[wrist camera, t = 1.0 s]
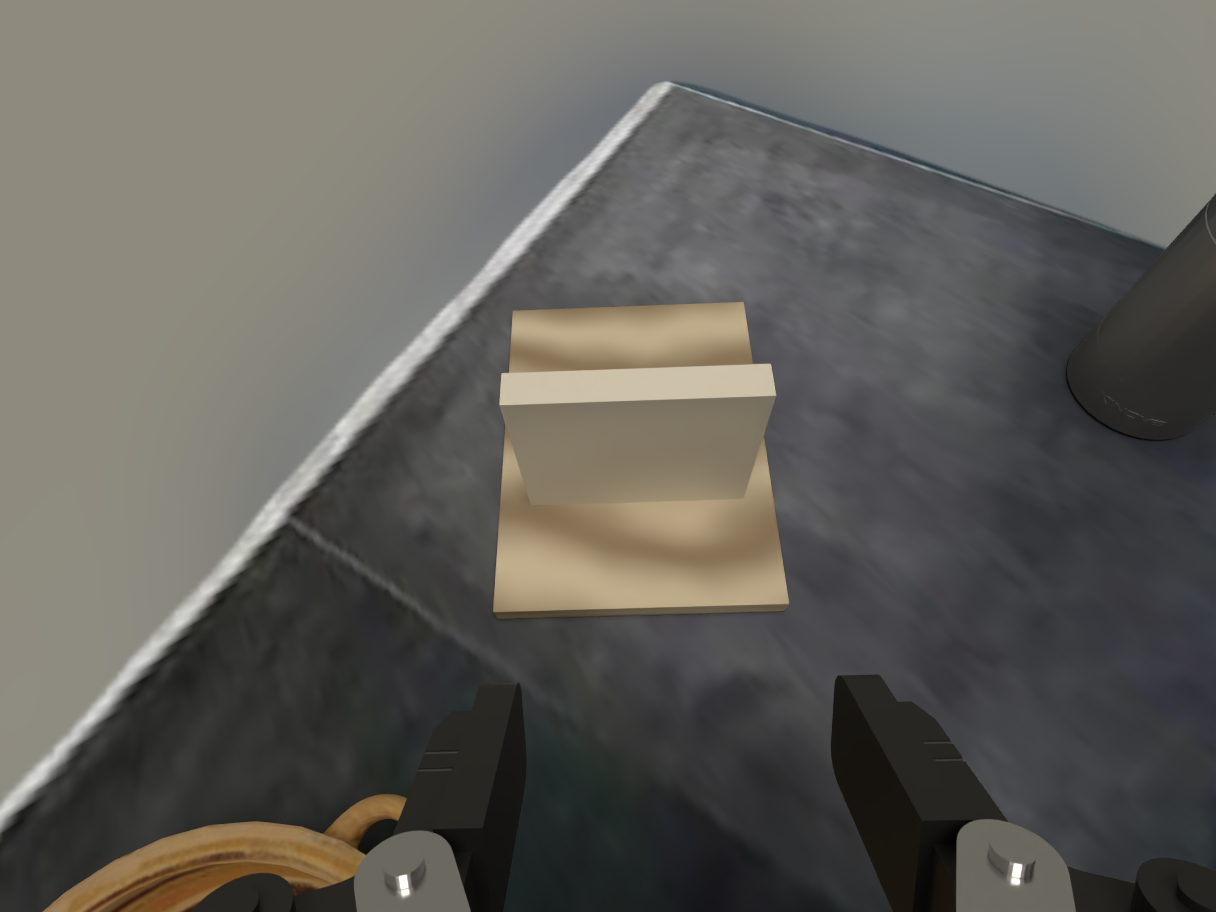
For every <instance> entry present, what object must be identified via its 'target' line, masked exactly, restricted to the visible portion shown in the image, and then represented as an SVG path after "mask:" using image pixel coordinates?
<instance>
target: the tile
mask: <svg viewBox="0 0 1216 912" xmlns="http://www.w3.org/2000/svg"><path fill="white" fill-rule="evenodd" d="M775 398H776V392H775V386H774V380H773V374H772V368H771V364H750V365H721V366H693V367H665V368H637V369H609V370H581V371H553V372H525V373H502V377H501V391H500V404H499V405H500V409H501V412H502V415H503V418H504V421H505V425H506V428H507V431H508V434H509V437H510V440H511V444H512V447H513V450H514V453H515V456H516V459H517V463H518V466H519V469H520V472H521V475H522V479H523V482H524V485H525V488H526V491H527V494H528V498H529V501H530V504H531V506H537V505H569V504H601V503H633V502H665V501H697V500H729V499H744V495H745V492H746V489H747V486H748V483H749V480H750V477H751V473H752V470H753V467H754V464H755V461H756V458H757V455H758V451H759V448H760V445H761V442H762V439H763V436H764V432H765V429H766V426H767V423H768V420H769V417H770V414H771V410H772V407H773V404H774V401H775Z"/></svg>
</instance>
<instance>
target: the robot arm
mask: <svg viewBox="0 0 1216 912" xmlns="http://www.w3.org/2000/svg"><path fill="white" fill-rule="evenodd" d="M1067 378H1068V382H1069V385H1070V387H1071V390H1072V392H1073V393H1074V395H1075V397H1076V398H1077V400H1078V401H1079V402H1080V404H1081V405H1082V406H1083V407H1084V408H1085V409H1086V410H1087V411H1088V412H1089V413H1090V414H1091V415H1093V416H1094V417H1095V418H1096V419H1098V420H1099V421H1100V422H1102V423H1104V424H1106V425H1107V426H1109V427H1111V428H1112V429H1115V430H1117V431H1120V432H1122V433H1124V434H1127V435H1130V436H1134V437H1138V438H1142V439H1153V440H1163V439H1172V438H1176V437H1179V436H1182V435H1185V434H1186V433H1188V432H1189V431H1191V430H1193V429H1194V428H1196V427H1197V426H1198V425H1200V424H1201V423H1202V422H1204V421H1205V420H1207V419H1208V418H1209V417H1211V416H1212V415H1213V414H1215V413H1216V194H1215V195H1214V196H1213V197H1212V198H1211V200H1210V201H1209V202H1208V203H1207V204H1206V205H1205V206H1204V207H1203V208H1202V210H1201V211H1200V212H1199V213H1198V214H1197V215H1196V216H1195V217H1194V218H1193V219H1192V221H1191V222H1190V223H1189V224H1188V225H1187V226H1186V228H1185V229H1183V231H1182V232H1181V233H1180V234H1179V235H1178V236H1177V237H1176V238H1175V240H1174V241H1173V242H1172V243H1171V244H1170V245H1169V246H1168V247H1167V248H1166V249H1165V251H1164V252H1163V253H1162V254H1161V255H1160V256H1159V257H1158V258H1157V259H1156V261H1155V262H1154V263H1153V264H1152V265H1151V266H1150V267H1149V268H1148V269H1147V271H1146V272H1145V273H1144V274H1143V275H1142V276H1141V277H1140V278H1139V279H1138V281H1137V282H1136V283H1135V284H1134V285H1133V286H1132V287H1131V288H1130V289H1129V291H1128V292H1127V293H1126V294H1125V295H1124V296H1123V297H1122V298H1121V299H1120V301H1119V302H1118V303H1117V304H1116V305H1115V306H1114V307H1113V308H1112V309H1111V311H1110V312H1109V313H1108V314H1107V315H1106V316H1105V317H1104V318H1103V319H1102V320H1101V321H1100V322H1099V323H1098V325H1097V326H1096V327H1095V328H1094V329H1093V330H1092V331H1091V332H1090V333H1089V335H1088V336H1087V337H1086V338H1085V339H1084V340H1083V341H1082V342H1081V343H1080V345H1079V346H1078V347H1077V348H1076V349H1075V350H1074V351H1073V353H1072V355H1071V356H1070V358H1069V361H1068V365H1067ZM831 756H832V763H833V769H834V773H835V777H836V780H837V782H838V785H839V787H840V789H841V792H842V794H843V796H844V799H845V801H846V803H847V806H848V808H849V810H850V813H851V815H852V817H853V820H854V822H855V824H856V827H857V829H858V831H859V834H860V836H861V838H862V841H863V843H864V845H865V848H866V850H867V852H868V855H869V857H870V859H871V862H872V864H873V866H874V869H875V871H876V873H877V876H878V878H879V880H880V883H881V885H882V887H883V890H884V892H885V894H886V897H887V899H888V901H889V904H890V906H891V908H892V911H893V912H1216V872H1214V871H1212V870H1210V869H1208V868H1205V867H1202V866H1200V865H1197V864H1194V863H1191V862H1187V861H1184V860H1178V859H1172V858H1156V859H1152V860H1149V861H1147V862H1145V863H1143V864H1142V865H1141V866H1140V867H1139V870H1138V872H1137V877H1136V882H1135V884H1134V883H1130V882H1126V881H1121V880H1117V879H1113V878H1109V877H1104V876H1100V875H1096V874H1091V873H1087V872H1083V871H1080V870H1076V869H1073V868H1070V867H1068V866H1066V864H1065V862H1064V860H1063V859H1062V858H1061V856H1060V855H1059V853H1058V852H1057V851H1056V850H1055V849H1054V848H1053V847H1052V846H1051V845H1049V844H1048V843H1047V842H1046V841H1045V840H1043V839H1042V838H1040V837H1039V836H1037V835H1036V834H1034V833H1032V832H1031V831H1029V830H1027V829H1025V828H1022V827H1020V826H1018V825H1015V824H1012V823H1009V822H1008V821H1007V820H1006V818H1005V817H1004V816H1003V814H1002V813H1001V811H1000V810H999V808H998V807H997V806H996V804H995V803H994V801H993V800H992V799H991V797H990V796H989V794H988V793H987V791H986V790H985V789H984V787H983V786H982V784H981V783H980V782H979V780H978V779H977V777H976V776H975V774H974V773H973V772H972V770H971V769H970V767H969V766H968V765H967V763H966V762H963V759H962V756H961V755H960V753H959V752H958V750H957V749H956V748H955V746H954V745H953V744H951V743H950V739H949V738H948V736H947V735H946V733H945V732H944V731H943V729H942V728H941V726H940V725H939V723H938V722H937V721H936V719H934V718H933V717H932V716H930V715H929V714H928V713H926V712H925V711H924V710H922V709H921V708H920V707H918V706H917V705H915V704H914V703H913V702H897V701H896V699H895V697H894V696H893V694H892V693H891V691H890V690H889V688H888V687H887V685H886V684H885V682H884V680H883V679H882V678H881V677H880V676H879V675H844V676H838V677H837V678H836V681H835V687H834V703H833V719H832V736H831ZM525 780H526V743H525V731H524V718H523V706H522V694H521V687H520V684H519V683H485V684H480V686H479V689H478V692H477V695H476V698H475V701H474V704H473V707H472V710H471V711H460V712H451V713H450V714H449V715H448V716H447V717H446V718H445V719H444V720H443V721H442V722H441V723H440V724H439V725H438V726H437V727H436V728H435V729H434V731H433V733H432V736H431V739H430V741H429V744H428V746H427V749H426V754H425V755H424V756H423V759H422V761H421V764H420V767H419V772H418V773H417V774H416V777H415V779H414V782H413V784H412V787H411V789H410V792H409V794H408V797H407V800H406V802H405V805H404V807H403V810H402V812H401V815H400V817H399V820H398V822H397V825H396V827H395V830H394V833H393V835H392V837H390V838H388V839H386V840H385V841H383V842H381V843H380V844H378V845H377V846H376V847H374V848H373V849H372V850H371V851H370V852H369V853H368V854H367V855H366V856H365V858H364V859H363V860H362V862H361V863H360V865H359V867H358V869H357V871H356V874H355V875H354V876H353V877H351V878H349V879H346V880H344V881H342V882H339V883H336V884H333V885H330V886H326V887H323V888H320V889H316V890H313V891H309V892H306V893H303V894H299V895H296V896H293V891H292V888H291V886H290V884H289V883H288V881H287V880H285V879H284V878H283V877H281V876H279V875H276V874H272V873H255V874H250V875H246V876H242V877H239V878H237V879H234V880H232V881H230V882H228V883H225V884H224V885H222V886H220V887H219V888H217V889H215V890H214V891H213V892H211V893H210V894H208V895H207V896H206V897H205V898H204V899H203V900H201V901H200V902H199V903H198V904H197V905H196V906H195V908H194V909H193V910H192V911H191V912H503V907H504V902H505V896H506V890H507V885H508V879H509V873H510V868H511V862H512V856H513V851H514V845H515V839H516V834H517V828H518V822H519V816H520V811H521V805H522V799H523V794H524V788H525Z"/></svg>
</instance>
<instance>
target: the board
mask: <svg viewBox="0 0 1216 912" xmlns="http://www.w3.org/2000/svg"><path fill="white" fill-rule="evenodd" d="M750 364H753V362H752V355H751V349H750V342H749V335H748V329H747V322H746V315H745V309H744V302H734V303H707V304H681V305H654V306H628V307H601V308H575V309H548V310H521V311H513V319H512V334H511V349H510V365H509V373H525V372H553V371H581V370H609V369H637V368H665V367H693V366H721V365H750ZM788 605H789V600H788V593H787V587H786V580H785V574H784V567H783V560H782V554H781V547H780V541H779V534H778V527H777V521H776V514H775V507H774V501H773V494H772V488H771V481H770V474H769V468H768V461H767V454H766V448H765V441H764V436H763V439H762V442H761V445H760V448H759V451H758V455H757V458H756V461H755V464H754V467H753V470H752V473H751V477H750V480H749V483H748V486H747V489H746V492H745V495H744V499H729V500H697V501H665V502H633V503H601V504H569V505H537V506H531V504H530V501H529V498H528V494H527V491H526V488H525V485H524V482H523V479H522V475H521V472H520V469H519V466H518V463H517V459H516V456H515V453H514V450H513V447H512V444H511V440H510V437H509V434H508V431H507V428H506V425H505V440H504V456H503V471H502V486H501V501H500V516H499V531H498V547H497V562H496V577H495V592H494V607H493V613H494V614H495V616H496V617H497V619H512V618H549V617H585V616H621V615H657V614H694V613H730V612H766V611H785V609H786V608H787V606H788Z"/></svg>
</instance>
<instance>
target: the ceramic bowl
mask: <svg viewBox="0 0 1216 912" xmlns="http://www.w3.org/2000/svg"><path fill="white" fill-rule="evenodd" d="M406 800H407V798H405V797H402V796H399V795H393V794H379V795H374V796H371V797H368V798H366V799H364V800H362V801H360V802H358V803H356V804H355V805H353V806H352V807H350V808H349V809H348V810H347V811H345V812H344V813H343V814H342V815H341V816H340V817H339V818H338V819H337V820H336V821H335V822H334V823H333V824H332V825H331V826H330V827H329V828H328V829H327V830H326V831H325V833H324V834H321V833H318V832H315V831H313V830H310V829H307V828H304V827H300V826H292V825H284V824H275V823H267V822H259V821H255V822H243V823H231V824H219V825H209V826H206V827H202V828H198V829H195V830H191V831H187V832H184V833H180V834H176V835H173V836H169V837H165V838H162V839H160V840H158V841H156V842H154V843H151V844H149V845H147V846H145V847H143V848H140V849H138V850H136V851H134V852H132V853H130V854H127V855H125V856H123V857H121V858H119V859H116V860H114V861H113V862H111V863H110V864H108V865H107V866H105V867H104V868H102V869H100V870H99V871H97V872H96V873H94V874H93V875H91V876H90V877H88V878H87V879H85V880H83V881H82V882H80V883H79V884H77V885H76V886H74V887H73V888H71V889H70V890H68V891H66V892H65V893H64V894H63V895H62V896H61V897H59V898H58V899H57V900H56V901H55V902H53V903H52V904H51V905H50V906H49V907H48V908H46V909H45V910H44V911H43V912H191V911H192V910H193V909H194V908H195V906H196V905H197V904H198V903H199V902H200V901H201V900H203V899H204V898H205V897H206V896H207V895H208V894H210V893H211V892H213V891H214V890H215V889H217V888H219V887H220V886H222V885H224V884H225V883H228V882H230V881H232V880H234V879H237V878H239V877H242V876H246V875H250V874H255V873H272V874H276V875H279V876H281V877H283V878H284V879H285V880H287V881H288V883H289V884H290V886H291V888H292V891H293V896H296V895H299V894H303V893H306V892H309V891H313V890H316V889H320V888H323V887H326V886H330V885H333V884H336V883H339V882H342V881H344V880H346V879H349V878H351V877H353V876H354V875H355V874H356V871H357V869H358V867H359V865H360V863H361V862H362V860H363V859H364V858H365V856H366V855H365V854H363V853H361V852H360V851H358V850H357V849H358V846H359V844H360V842H361V840H362V838H363V835H364V834H365V832H366V831H367V829H368V828H369V827H370V826H371V825H373V824H374V823H376V822H378V821H380V820H383V819H394V820H397V821H398V820H399V817H400V815H401V812H402V810H403V807H404V805H405V802H406Z"/></svg>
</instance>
